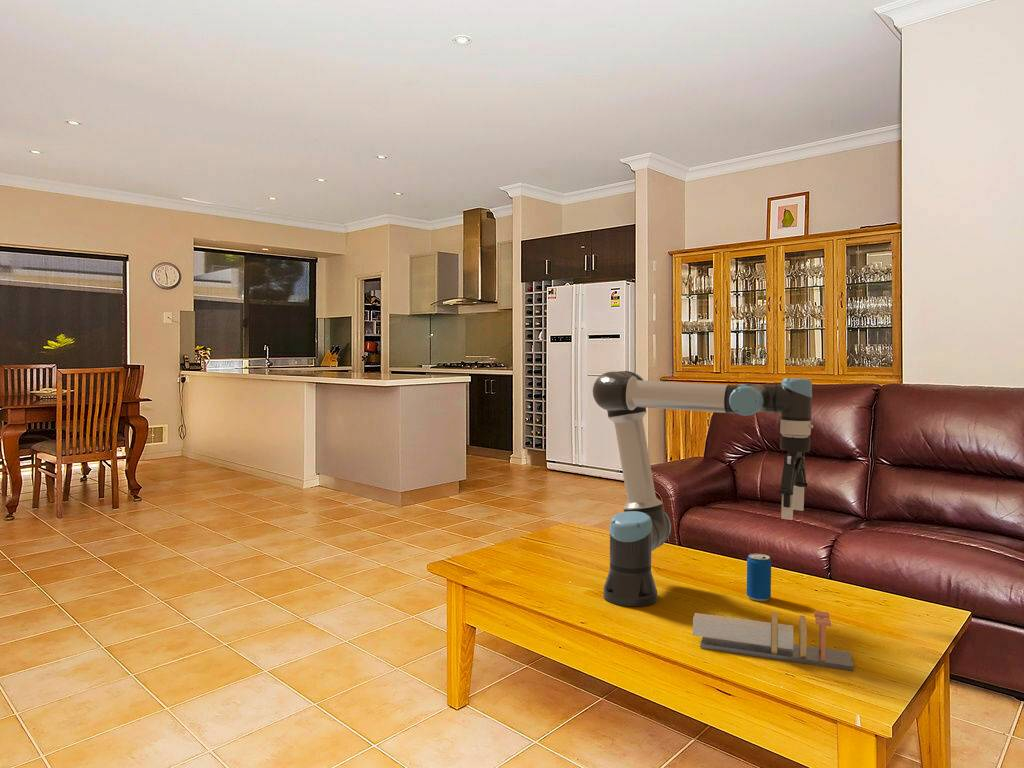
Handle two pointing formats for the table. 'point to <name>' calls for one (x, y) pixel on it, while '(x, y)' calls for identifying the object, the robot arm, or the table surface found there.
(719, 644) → the rail
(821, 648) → the aperture gantry
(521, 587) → the table surface
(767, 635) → the pale grey bar
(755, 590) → the beverage can
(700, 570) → the table surface
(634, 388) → the robot arm
